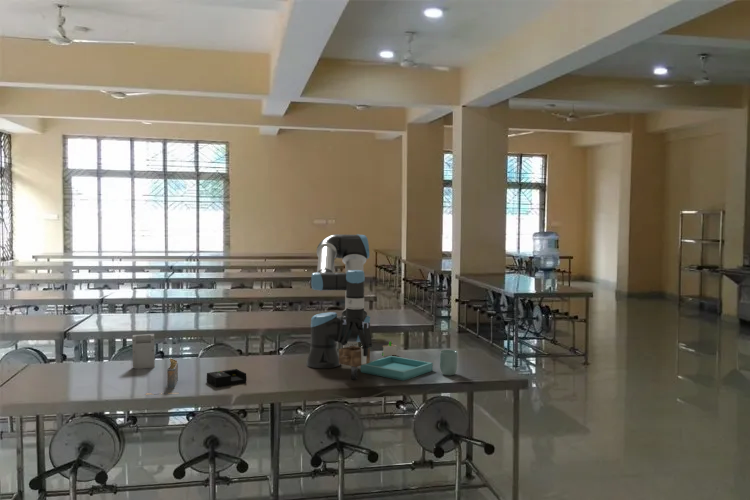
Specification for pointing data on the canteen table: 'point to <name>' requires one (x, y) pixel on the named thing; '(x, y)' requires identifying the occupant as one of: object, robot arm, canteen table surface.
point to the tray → (397, 368)
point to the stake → (353, 373)
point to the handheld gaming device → (143, 351)
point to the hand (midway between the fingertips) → (354, 361)
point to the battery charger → (226, 378)
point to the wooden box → (352, 356)
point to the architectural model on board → (171, 375)
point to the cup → (448, 362)
